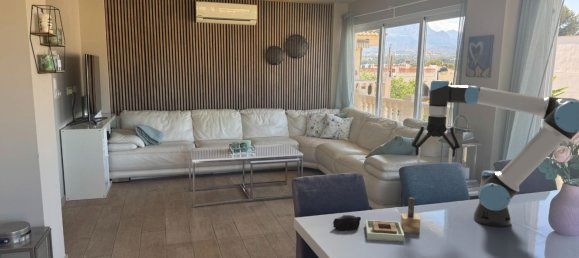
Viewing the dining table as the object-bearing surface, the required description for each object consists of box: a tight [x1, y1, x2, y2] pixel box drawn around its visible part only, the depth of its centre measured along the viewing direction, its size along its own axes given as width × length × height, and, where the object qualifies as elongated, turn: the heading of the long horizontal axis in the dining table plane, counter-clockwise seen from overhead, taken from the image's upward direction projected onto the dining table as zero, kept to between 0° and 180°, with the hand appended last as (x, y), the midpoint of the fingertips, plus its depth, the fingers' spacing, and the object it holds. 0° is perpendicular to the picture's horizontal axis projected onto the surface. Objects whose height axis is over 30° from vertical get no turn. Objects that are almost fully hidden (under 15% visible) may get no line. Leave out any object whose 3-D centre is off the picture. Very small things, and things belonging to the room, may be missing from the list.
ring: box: [372, 219, 397, 234], centre depth 173 cm, size 11×9×3 cm
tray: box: [364, 219, 405, 243], centre depth 173 cm, size 14×14×3 cm
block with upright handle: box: [400, 197, 421, 234], centre depth 176 cm, size 7×6×14 cm
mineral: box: [332, 214, 362, 232], centre depth 178 cm, size 10×9×6 cm
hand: (434, 163), depth 185 cm, fingers open, 13 cm apart
